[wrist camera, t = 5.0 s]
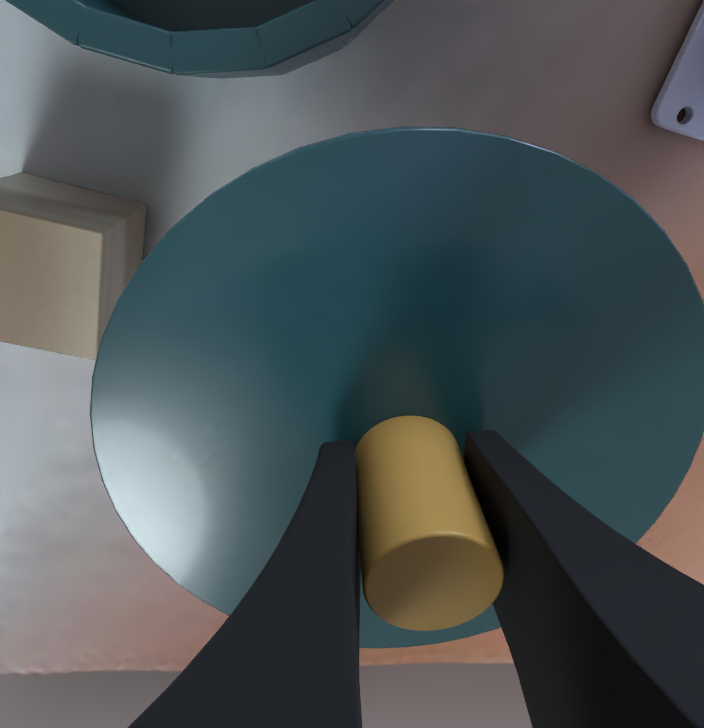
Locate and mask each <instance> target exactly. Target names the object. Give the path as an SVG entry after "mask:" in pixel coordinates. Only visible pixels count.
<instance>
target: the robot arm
mask: <svg viewBox="0 0 704 728" xmlns="http://www.w3.org/2000/svg"><path fill="white" fill-rule="evenodd" d="M682 108H685V112H686V114H685V117H684V119H683V120H682V121H681V122H679V123H678V121H677V115H678V113H679V111H680V110H681V109H682ZM651 120H652V122H653V123H654V124H655V125H656V126H658V127H661V128H664V129H667V130H670V131H673V132H676V133H679V134H682V135H685V136H689V137H692V138H695V139H698V140H701V141H704V0H703V2H702V4H701V6H700V9H699V11H698V13H697V15H696V17H695V19H694V21H693V23H692V25H691V27H690V30H689V32H688V34H687V36H686V38H685V40H684V42H683V44H682V46H681V48H680V51H679V53H678V55H677V57H676V59H675V61H674V63H673V65H672V67H671V69H670V72H669V74H668V76H667V78H666V80H665V82H664V84H663V86H662V88H661V90H660V93H659V95H658V97H657V99H656V101H655V103H654V105H653V108H652V111H651ZM464 462H465V465H466V468H467V470H468V473H469V476H470V478H471V481H472V484H473V486H474V489H475V491H476V494H477V497H478V499H479V502H480V505H481V507H482V510H483V513H484V515H485V518H486V521H487V523H488V526H489V528H490V531H491V534H492V536H493V539H494V542H495V544H496V547H497V550H498V552H499V555H500V558H501V560H502V563H503V567H504V581H503V585H502V588H501V591H500V593H499V595H498V596H497V598H496V599H495V601H494V602H493V603H492V604H493V607H494V609H495V612H496V614H497V617H498V620H499V622H500V625H501V628H502V630H503V633H504V636H505V638H506V641H507V643H508V646H509V649H510V652H511V655H512V658H513V661H514V664H515V667H516V670H517V673H518V676H519V680H520V684H521V687H522V691H523V694H524V698H525V702H526V706H527V709H528V713H529V716H530V720H531V723H532V727H533V728H704V585H703V584H701V583H699V582H698V581H696V580H694V579H692V578H690V577H689V576H687V575H685V574H683V573H681V572H680V571H678V570H676V569H675V568H673V567H671V566H670V565H668V564H666V563H665V562H663V561H661V560H660V559H658V558H656V557H655V556H653V555H652V554H650V553H649V552H647V551H646V550H644V549H642V548H641V547H639V546H638V545H636V544H635V543H633V542H632V541H630V540H629V539H627V538H626V537H624V536H622V535H621V534H620V533H618V532H617V531H615V530H614V529H612V528H611V527H610V526H608V525H607V524H605V523H604V522H603V521H601V520H600V519H599V518H597V517H596V516H595V515H593V514H592V513H591V512H589V511H588V510H587V509H585V508H584V507H583V506H581V505H580V504H579V503H577V502H576V501H575V500H574V499H572V498H571V497H570V496H569V495H567V494H566V493H565V492H564V491H563V490H561V489H560V488H559V487H558V486H557V485H555V484H554V483H553V482H552V481H551V480H549V479H548V478H547V477H546V476H545V475H544V474H542V473H541V472H540V471H539V470H538V469H537V468H536V467H535V466H533V465H532V464H531V463H530V462H529V461H528V460H527V459H526V458H525V457H523V456H522V455H521V454H520V453H519V452H518V451H517V450H516V449H515V448H514V447H512V446H511V445H510V444H509V443H508V442H507V441H506V440H505V439H504V438H503V437H501V436H500V435H499V434H498V433H497V432H496V431H495V430H484V431H470V432H465V448H464ZM360 581H361V563H360V551H359V538H358V523H357V485H356V469H355V455H354V445H353V440H346V441H332V442H324V443H323V444H322V445H321V446H320V447H319V453H318V457H317V460H316V463H315V466H314V469H313V472H312V475H311V477H310V480H309V483H308V485H307V487H306V490H305V492H304V494H303V496H302V498H301V501H300V503H299V505H298V507H297V510H296V512H295V514H294V516H293V518H292V519H291V521H290V523H289V525H288V527H287V529H286V530H285V532H284V534H283V536H282V538H281V540H280V542H279V543H278V545H277V547H276V549H275V550H274V552H273V554H272V555H271V557H270V559H269V560H268V562H267V563H266V565H265V566H264V568H263V570H262V571H261V573H260V574H259V576H258V577H257V579H256V580H255V582H254V583H253V585H252V586H251V587H250V589H249V590H248V592H247V593H246V594H245V596H244V597H243V598H242V600H241V601H240V602H239V604H238V605H237V607H236V608H235V609H234V611H233V612H232V613H231V615H230V616H229V617H228V618H227V620H226V621H225V622H224V624H223V625H222V626H221V627H220V629H219V630H218V631H217V632H216V634H215V635H214V636H213V637H212V638H211V639H210V640H209V642H208V643H207V644H206V645H205V646H204V647H203V648H202V650H201V651H200V652H199V653H198V654H197V655H196V657H195V658H194V659H193V660H192V661H191V662H190V663H189V665H188V666H187V667H186V668H185V669H184V670H183V671H182V673H181V674H180V675H179V676H178V677H177V678H176V679H175V680H174V681H173V682H172V684H171V685H170V686H169V687H168V688H167V689H166V690H165V691H164V692H163V693H162V694H161V695H160V696H159V697H158V698H157V699H156V700H155V701H154V702H153V703H152V704H151V705H150V706H149V707H148V708H147V709H146V710H145V711H144V712H143V713H142V714H141V715H140V716H139V717H138V718H137V719H136V720H135V721H134V722H133V723H132V724H131V725H130V726H129V727H128V728H362V717H361V701H360V686H359V633H360Z"/></svg>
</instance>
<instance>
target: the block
mask: <svg viewBox="0 0 704 728" xmlns="http://www.w3.org/2000/svg"><path fill="white" fill-rule="evenodd" d="M146 209H147V205H146V204H145V203H141V202H137V201H133V200H129V199H125V198H121V197H117V196H113V195H109V194H105V193H101V192H97V191H93V190H89V189H85V188H81V187H77V186H73V185H69V184H65V183H61V182H57V181H53V180H49V179H45V178H41V177H37V176H33V175H29V174H25V173H17V174H14V175H10V176H7V177H3V178H0V342H5V343H10V344H15V345H20V346H26V347H31V348H36V349H41V350H46V351H51V352H56V353H61V354H66V355H71V356H76V357H81V358H86V359H91V360H96V358H97V354H98V350H99V345H100V341H101V338H102V335H103V333H104V331H105V328H106V326H107V323H108V321H109V319H110V316H111V314H112V311H113V309H114V307H115V304H116V302H117V300H118V298H119V297H120V295H121V294H122V292H123V290H124V289H125V287H126V286H127V284H128V282H129V281H130V279H131V278H132V276H133V274H134V273H135V271H136V270H137V268H138V266H139V265H140V263H141V262H142V256H143V244H144V232H145V220H146Z"/></svg>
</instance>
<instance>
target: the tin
mask: <svg viewBox="0 0 704 728" xmlns="http://www.w3.org/2000/svg"><path fill="white" fill-rule="evenodd" d="M6 1H7V2H9V3H10V4H12V5H13V6H15V7H16V8H18V9H20V10H21V11H23V12H24V13H26V14H27V15H29V16H30V17H32V18H34V19H35V20H37V21H38V22H40V23H41V24H43V25H44V26H46V27H48V28H49V29H51V30H52V31H54V32H55V33H57V34H58V35H60V36H61V37H63V38H65V39H66V40H68V41H69V42H71V43H72V44H74V45H78V46H80V47H81V48H83V49H87V50H90V51H93V52H97V53H100V54H104V55H107V56H111V57H114V58H118V59H121V60H124V61H128V62H131V63H135V64H138V65H142V66H145V67H149V68H152V69H155V70H159V71H162V72H166V73H169V74H176V75H184V76H196V77H208V78H237V77H253V76H270V75H282V74H286V73H288V72H291V71H293V70H295V69H297V68H300V67H302V66H304V65H306V64H309V63H311V62H314V61H316V60H319V59H320V58H322V57H324V56H326V55H329V54H331V53H333V52H335V51H338V50H340V49H342V48H343V46H346V45H347V44H348V43H349V42H350V41H351V40H352V39H354V38H355V37H356V36H357V35H358V34H359V33H360V32H361V31H362V30H363V29H364V28H365V27H366V26H367V25H368V24H369V23H370V22H371V21H373V20H374V19H375V18H376V17H377V16H378V15H379V14H380V13H381V12H382V11H383V10H384V9H385V8H386V7H387V6H388V5H389V4H390V3H391V2H393V1H394V0H6Z"/></svg>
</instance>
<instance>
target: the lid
mask: <svg viewBox="0 0 704 728" xmlns="http://www.w3.org/2000/svg"><path fill="white" fill-rule="evenodd" d="M90 418H91V428H92V438H93V448H94V452H95V455H96V459H97V463H98V467H99V470H100V474H101V478H102V481H103V483H104V486H105V488H106V490H107V492H108V495H109V497H110V499H111V501H112V504H113V506H114V508H115V510H116V512H117V513H118V515H119V517H120V518H121V520H122V521H123V523H124V525H125V526H126V528H127V529H128V531H129V532H130V534H131V536H132V537H133V538H134V540H135V541H136V542H137V543H138V544H139V545H140V547H141V548H142V549H143V550H144V551H145V553H146V554H147V555H148V556H149V557H150V558H151V560H152V561H153V562H154V563H155V564H156V565H158V566H159V567H160V568H161V569H162V570H163V571H164V572H165V573H166V574H167V575H168V576H170V577H171V578H172V579H173V580H174V581H175V582H176V583H178V584H179V585H181V586H182V587H183V588H185V589H186V590H187V591H189V592H190V593H192V594H193V595H194V596H196V597H197V598H199V599H200V600H202V601H203V602H205V603H207V604H209V605H211V606H212V607H214V608H216V609H218V610H219V611H221V612H223V613H225V614H227V615H229V616H230V615H231V613H232V612H233V611H234V609H235V608H236V607H237V605H238V604H239V602H240V601H241V600H242V598H243V597H244V596H245V594H246V593H247V592H248V590H249V589H250V587H251V586H252V585H253V583H254V582H255V580H256V579H257V577H258V576H259V574H260V573H261V571H262V570H263V568H264V566H265V565H266V563H267V562H268V560H269V559H270V557H271V555H272V554H273V552H274V550H275V549H276V547H277V545H278V543H279V542H280V540H281V538H282V536H283V534H284V532H285V530H286V529H287V527H288V525H289V523H290V521H291V519H292V518H293V516H294V514H295V512H296V510H297V507H298V505H299V503H300V501H301V498H302V496H303V494H304V492H305V490H306V487H307V485H308V483H309V480H310V477H311V475H312V472H313V469H314V466H315V463H316V460H317V457H318V453H319V447H320V446H321V445H322V444H323V443H324V442H332V441H346V440H353V445H354V455H355V469H356V485H357V523H358V538H359V551H360V563H361V581H360V633H359V648H398V647H412V646H420V645H429V644H437V643H442V642H447V641H452V640H456V639H461V638H466V637H470V636H474V635H477V634H480V633H484V632H487V631H491V630H494V629H498V628H500V627H501V625H500V622H499V620H498V617H497V614H496V612H495V609H494V607H493V604H492V603H493V602H494V601H495V599H496V598H497V596H498V595H499V593H500V591H501V588H502V585H503V581H504V567H503V563H502V560H501V558H500V555H499V552H498V550H497V547H496V544H495V542H494V539H493V536H492V534H491V531H490V528H489V526H488V523H487V521H486V518H485V515H484V513H483V510H482V507H481V505H480V502H479V499H478V497H477V494H476V491H475V489H474V486H473V484H472V481H471V478H470V476H469V473H468V470H467V468H466V465H465V462H464V448H465V432H470V431H484V430H495V431H496V432H497V433H498V434H499V435H500V436H501V437H503V438H504V439H505V440H506V441H507V442H508V443H509V444H510V445H511V446H512V447H514V448H515V449H516V450H517V451H518V452H519V453H520V454H521V455H522V456H523V457H525V458H526V459H527V460H528V461H529V462H530V463H531V464H532V465H533V466H535V467H536V468H537V469H538V470H539V471H540V472H541V473H542V474H544V475H545V476H546V477H547V478H548V479H549V480H551V481H552V482H553V483H554V484H555V485H557V486H558V487H559V488H560V489H561V490H563V491H564V492H565V493H566V494H567V495H569V496H570V497H571V498H572V499H574V500H575V501H576V502H577V503H579V504H580V505H581V506H583V507H584V508H585V509H587V510H588V511H589V512H591V513H592V514H593V515H595V516H596V517H597V518H599V519H600V520H601V521H603V522H604V523H605V524H607V525H608V526H610V527H611V528H612V529H614V530H615V531H617V532H618V533H620V534H621V535H622V536H624V537H626V538H627V539H629V540H630V541H632V542H633V543H635V544H636V543H637V542H638V540H639V539H640V538H641V537H642V536H643V535H644V534H645V533H646V532H647V531H648V530H649V528H650V527H651V526H652V525H653V524H654V523H655V522H656V520H657V519H658V517H659V516H660V515H661V513H662V512H663V511H664V509H665V508H666V506H667V505H668V504H669V502H670V501H671V500H672V498H673V497H674V495H675V493H676V492H677V490H678V488H679V486H680V484H681V483H682V481H683V479H684V477H685V476H686V474H687V472H688V470H689V468H690V466H691V464H692V461H693V459H694V456H695V454H696V451H697V449H698V446H699V444H700V441H701V439H702V436H703V432H704V305H703V301H702V298H701V296H700V293H699V291H698V289H697V287H696V284H695V282H694V280H693V277H692V275H691V273H690V271H689V268H688V266H687V264H686V262H685V261H684V259H683V258H682V256H681V255H680V253H679V252H678V250H677V249H676V247H675V246H674V244H673V243H672V241H671V240H670V239H669V237H668V236H667V234H666V233H665V231H664V230H663V229H662V228H661V227H660V226H659V225H658V224H657V223H656V222H655V221H654V220H653V218H652V217H651V216H650V215H649V214H648V213H647V212H646V211H645V210H644V209H643V208H642V207H641V206H640V205H639V204H638V203H637V202H636V201H635V200H634V199H633V198H631V197H630V196H629V195H627V194H626V193H624V192H623V191H622V190H620V189H619V188H618V187H616V186H615V185H614V184H612V183H611V182H609V181H608V180H607V179H605V178H604V177H603V176H601V175H600V174H598V173H596V172H595V171H593V170H591V169H589V168H587V167H585V166H583V165H581V164H579V163H577V162H575V161H573V160H571V159H569V158H567V157H565V156H563V155H561V154H559V153H557V152H554V151H551V150H548V149H545V148H542V147H539V146H536V145H532V144H529V143H526V142H523V141H520V140H517V139H514V138H511V137H507V136H503V135H498V134H492V133H486V132H480V131H473V130H467V129H461V128H455V127H404V126H401V127H393V128H386V129H378V130H370V131H363V132H355V133H349V134H345V135H341V136H338V137H334V138H331V139H327V140H324V141H320V142H316V143H313V144H309V145H306V146H302V147H299V148H297V149H294V150H292V151H290V152H288V153H285V154H283V155H281V156H278V157H276V158H274V159H272V160H269V161H267V162H265V163H263V164H260V165H258V166H256V167H254V168H252V169H250V170H249V171H247V172H245V173H244V174H242V175H241V176H239V177H237V178H236V179H234V180H233V181H231V182H229V183H228V184H226V185H225V186H223V187H221V188H220V189H218V190H217V191H215V192H213V193H212V194H210V195H209V196H208V197H207V198H206V199H205V200H203V201H202V202H201V203H200V204H199V205H198V206H196V207H195V208H194V209H193V210H192V211H191V212H189V213H188V214H187V215H186V216H185V217H184V218H182V219H181V220H180V221H179V222H178V223H176V224H175V225H174V226H173V227H172V228H171V229H170V230H169V231H168V232H167V233H166V235H165V236H164V237H163V238H162V239H161V240H160V242H159V243H158V244H157V245H156V246H155V247H154V248H153V250H152V251H151V252H150V253H149V254H148V255H147V257H146V258H145V259H144V260H143V261H142V262H141V263H140V265H139V266H138V268H137V270H136V271H135V273H134V274H133V276H132V278H131V279H130V281H129V282H128V284H127V286H126V287H125V289H124V290H123V292H122V294H121V295H120V297H119V298H118V300H117V302H116V304H115V307H114V309H113V311H112V314H111V316H110V319H109V321H108V323H107V326H106V328H105V331H104V333H103V335H102V338H101V341H100V345H99V350H98V354H97V358H96V363H95V367H94V371H93V375H92V388H91V404H90Z"/></svg>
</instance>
